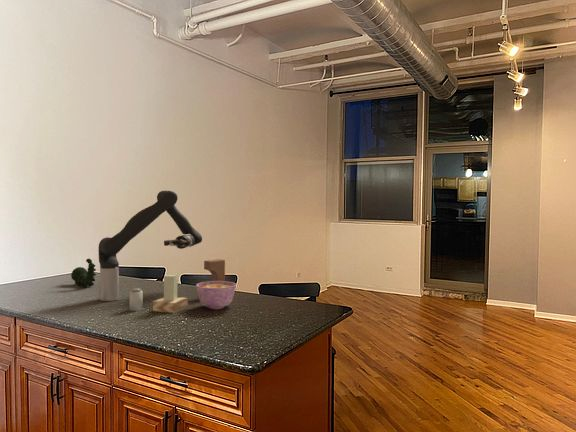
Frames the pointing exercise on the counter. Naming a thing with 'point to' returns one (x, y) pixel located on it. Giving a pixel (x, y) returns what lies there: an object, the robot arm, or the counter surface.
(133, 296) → the ceramic jar
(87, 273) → the toy figurine
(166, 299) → the sage block
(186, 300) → the maple block
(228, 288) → the bowl of food
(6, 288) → the counter surface
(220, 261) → the decorative block
